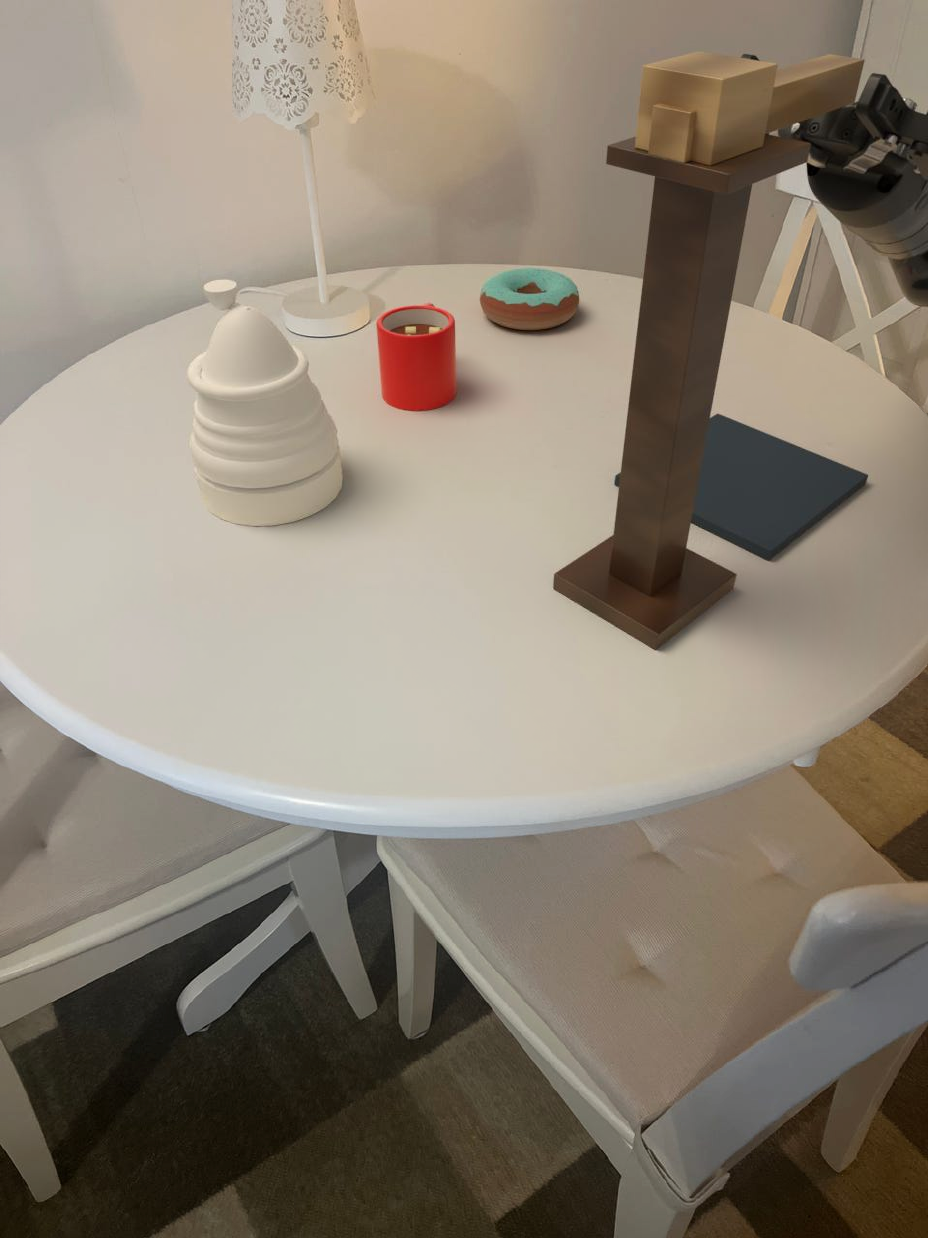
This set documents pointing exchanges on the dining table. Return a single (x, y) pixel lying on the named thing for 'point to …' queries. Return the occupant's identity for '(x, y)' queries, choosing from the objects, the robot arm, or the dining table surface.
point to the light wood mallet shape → (734, 102)
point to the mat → (764, 487)
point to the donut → (529, 299)
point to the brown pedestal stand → (673, 392)
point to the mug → (417, 357)
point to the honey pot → (259, 422)
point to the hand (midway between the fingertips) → (801, 80)
